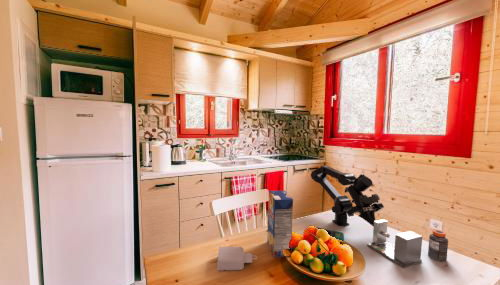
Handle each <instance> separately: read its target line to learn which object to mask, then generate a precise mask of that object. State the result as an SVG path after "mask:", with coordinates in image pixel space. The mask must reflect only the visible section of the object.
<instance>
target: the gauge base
mask: <svg viewBox="0 0 500 285" xmlns="http://www.w3.org/2000/svg"><path fill="white" fill-rule="evenodd" d="M370 243H371V242H370ZM370 243H367V247H369V248H370V249H372V250H373V251H375V252H377V253H378V254H379V255H381V256H383V257H385V258H386V259H388V260H389V261H392V262H393V263H394V264H396V265H397V266H400V267H401V268H403V269H404V268H407V267H410V266H414V265H417V264H420V263H422V262H423V259H422V258H421V257H422V256H421V255H422V247H423V246H422V244H423V235H421V234H419V233H416V232H414V231H411V230H408V231H405V232H400V233H396V234H395V238H394V243H392V242H390V241H388V240H386V242H385V243H381V244H377V245H376V244H372V245H371V244H370Z"/></svg>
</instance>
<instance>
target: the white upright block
mask: <svg viewBox="0 0 500 285" xmlns="http://www.w3.org/2000/svg"><path fill="white" fill-rule="evenodd" d="M372 231H373V232H372V242H370V244H371V245H372V244H376V245H377V244H381V243H385V242H386V241H387V239H389V238H390V236H391V235H390V233H388V220H386V219H378V220H376V221H374V227H373V230H372Z"/></svg>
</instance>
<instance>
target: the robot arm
mask: <svg viewBox="0 0 500 285" xmlns="http://www.w3.org/2000/svg"><path fill="white" fill-rule="evenodd" d="M327 176H330V177H331V178H334V179H336V180H337V181H338V183H339V184H340V185H341V186H346V187H345V189H344V193H348V194H349V196H350V198H351V199H350V198H349V197H348V196H347V195H346V194H345V195H341V194H340V193H339V191H338V190H337V189H336V188H335V187H334V185H332V183H331V182H330V181H329V180H328V179H327ZM310 177H311V179H312V180H313V181H314V182H315V183H318V184H320V186H321V187H322V188H323V189H324V190H325V191H326V193H327V194H328V196H329V197H330V198H331V199H332V200H333V206H332V207H331V211H332V212H331V213H334V219H332V222H333V223H334V224H335V225H337V226H338V227H339V226H340V227H341V226H342V227H343V226H349V225H350V223H348V217H349V218H350V217H353V216H355V214H357V213H358V214H359V215H358V216H357V217H360V218H361V219H363V220H364V221H366V222H367V223H368V224H370V226H372V227H373V228H374V221H377V220H376V216H375V213H377V212H379V211H380V210H381V209H383V208H385V206H384V204H383V203H382V202H379V201H380V200H381V199H380V196H379V195H378V194H377V193H373V194H371V196H368V195H367V194H364V193H363V192H365V191H367V190H368V189H369V188H371V187H372V186H373V184H374V183H373V181H372V179H371V178H369V177H368V176H366V175H365V174H359V175H358V177H356V176H355V175H354V174H352V173H350V172H349V173H347V172H342V171H340V170H337V169H335V168H333V167H331V166H329V165H321V166H320V167H318V168H316V169H314V170H312V171H311V172H310ZM353 204H355V205H353Z"/></svg>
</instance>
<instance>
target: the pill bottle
mask: <svg viewBox="0 0 500 285" xmlns="http://www.w3.org/2000/svg"><path fill="white" fill-rule="evenodd" d="M448 246H449V240H448V237H446V232H445V231H443V230H440V229H433V230H432V233H430V234H429V239H428V249H427V251H428V252H427V255H428V256H429V258H431V259H432V260H435V261H437V262H446V261H447V260H448V248H449V247H448Z"/></svg>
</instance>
